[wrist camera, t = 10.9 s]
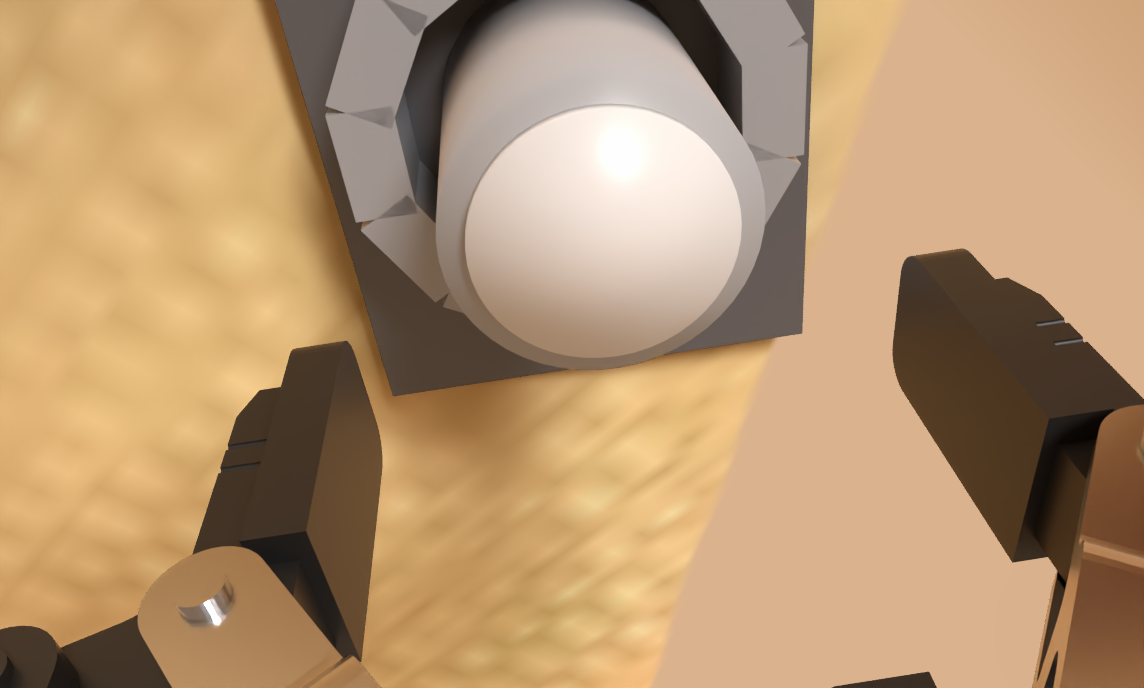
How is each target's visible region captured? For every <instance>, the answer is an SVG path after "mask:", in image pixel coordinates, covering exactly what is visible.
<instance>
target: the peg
mask: <svg viewBox="0 0 1144 688" xmlns="http://www.w3.org/2000/svg"><path fill="white" fill-rule="evenodd" d="M765 213H766V210H765V195H764V189H763V184H762V180H761V175H760V172H759V169H758V167H757V164H756V161H755V159H754V156H753V154H752V152H751V150H750V149H749V147H748V145H747V143H746V142H745V140H744V138H743V137H742V135H741V134H740V132H739V131H738V129H737V128H736V126H735V125H734V123H733V122H732V120H731V119H730V117H729V116H728V114H727V112H726V111H725V109H724V108H723V106H722V105H721V103H720V102H719V100H718V99H717V97H716V96H715V94H714V93H713V91H712V90H711V88H710V87H709V85H708V84H707V82H706V81H705V79H704V78H703V76H702V75H701V73H700V72H699V70H698V69H697V67H696V66H695V64H694V63H693V61H692V60H691V58H690V57H689V55H688V54H687V52H686V51H685V49H684V48H683V46H682V45H681V43H680V42H679V40H678V39H677V37H676V36H675V34H674V33H673V31H672V30H671V28H670V27H669V25H668V24H667V22H666V21H665V20H664V18H663V17H662V16H661V14H660V13H659V12H658V11H657V9H656V8H655V7H654V6H653V5H652V4H650V3H649V2H648V1H647V0H487V1H486V2H485V3H484V4H483V5H482V6H481V7H480V8H479V9H478V10H477V11H475V13H474V14H473V15H472V17H471V18H470V19H469V20H468V22H467V23H466V24H465V25H464V27H463V29H462V31H461V32H460V34H459V36H458V37H457V39H456V41H455V44H454V46H453V48H452V51H451V53H450V56H449V60H448V63H447V67H446V71H445V79H444V87H443V105H442V122H441V140H440V157H439V175H438V192H437V210H436V246H437V253H438V259H439V264H440V267H441V270H442V273H443V276H444V279H445V282H446V284H447V286H448V288H449V290H450V292H451V294H452V296H453V298H454V299H455V301H456V302H457V304H458V305H459V307H460V308H461V310H462V311H463V313H464V314H465V315H466V316H467V317H468V318H469V319H470V320H471V322H472V323H473V324H474V325H475V326H476V327H477V328H478V329H479V330H481V331H482V332H483V333H484V334H485V335H487V336H488V337H489V338H490V339H492V340H493V341H495V342H496V343H498V344H499V345H501V346H502V347H504V348H505V349H507V350H509V351H511V352H513V353H515V354H517V355H519V356H521V357H524V358H527V359H530V360H532V361H535V362H538V363H541V364H545V365H550V366H554V367H559V368H567V369H576V370H602V369H612V368H619V367H624V366H629V365H634V364H638V363H641V362H644V361H647V360H650V359H654V358H656V357H659V356H661V355H663V354H665V353H668V352H670V351H672V350H674V349H676V348H678V347H679V346H681V345H683V344H685V343H686V342H688V341H690V340H691V339H693V338H694V337H695V336H697V335H698V334H700V333H701V332H702V331H704V330H705V329H706V328H708V327H709V326H710V325H711V324H712V323H713V322H714V321H715V320H716V319H717V318H719V317H720V316H721V315H722V313H723V312H724V311H725V310H726V309H727V308H728V307H729V305H730V304H731V303H732V302H733V301H734V299H735V298H736V297H737V295H738V294H739V292H740V291H741V289H742V288H743V286H744V285H745V283H746V281H747V279H748V277H749V275H750V273H751V271H752V269H753V267H754V265H755V262H756V259H757V256H758V254H759V251H760V247H761V243H762V238H763V234H764V226H765Z"/></svg>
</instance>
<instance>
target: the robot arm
mask: <svg viewBox="0 0 1144 688" xmlns="http://www.w3.org/2000/svg"><path fill="white" fill-rule="evenodd" d="M893 362H894V368H895V373H896V376H897V379H898V382H899V385H900V387H901V389H902V391H903V392H904V394H905V395H906V397H907V399H908V400H909V402H910V403H911V405H912V406H913V408H914V409H915V411H916V413H917V414H918V416H919V417H920V419H921V420H922V422H923V423H924V425H925V427H926V428H927V430H928V431H929V433H930V434H931V436H932V438H933V439H934V441H935V442H936V444H937V445H938V447H939V448H940V450H941V451H942V453H943V455H944V456H945V458H946V459H947V461H948V462H949V464H950V466H951V467H952V469H953V470H954V472H955V473H956V475H957V477H958V478H959V480H960V481H961V483H962V484H963V486H964V487H965V489H966V491H967V492H968V494H969V495H970V497H971V498H972V500H973V502H974V503H975V505H976V506H977V508H978V509H979V511H980V513H981V514H982V516H983V517H984V519H985V520H986V522H987V523H988V525H989V527H990V528H991V530H992V531H993V533H994V534H995V536H996V537H997V539H998V541H999V542H1000V544H1001V545H1002V547H1003V548H1004V550H1005V552H1006V553H1007V555H1008V556H1009V558H1010V559H1011V561H1012V562H1018V561H1025V560H1031V559H1038V558H1044V557H1048V558H1049V559H1050V560H1051V562H1052V563H1053V565H1054V566H1055V567H1056V569H1057V572H1056V575H1055V579H1054V582H1053V585H1052V590H1051V595H1050V599H1049V605H1048V610H1047V615H1046V620H1045V625H1044V630H1043V635H1042V640H1041V645H1040V650H1039V655H1038V660H1037V666H1036V670H1035V675H1034V681H1033V686H1032V688H1144V399H1143V398H1142V397H1141V396H1140V395H1139V394H1138V393H1137V392H1136V391H1135V390H1134V389H1133V388H1132V387H1131V386H1130V385H1129V384H1128V383H1127V382H1126V381H1125V380H1124V379H1123V378H1122V377H1121V376H1120V375H1119V374H1118V373H1117V371H1115V369H1113V367H1112V366H1110V364H1108V362H1107V361H1106V360H1105V359H1104V358H1103V357H1102V356H1101V355H1100V354H1099V353H1098V352H1097V351H1096V350H1095V349H1094V348H1093V347H1092V346H1091V345H1090V344H1089V343H1088V342H1085V343H1084V342H1083V337H1082V336H1081V335H1080V334H1079V333H1078V332H1077V331H1076V330H1075V329H1074V328H1073V327H1072V326H1071V325H1070V324H1069V323H1065V322H1064V318H1063V317H1062V316H1061V314H1059V312H1058V311H1057V310H1055V308H1054V307H1053V306H1052V305H1051V304H1050V303H1049V302H1048V301H1047V300H1046V299H1045V298H1044V297H1043V296H1042V295H1040V294H1038V293H1036V292H1034V291H1032V290H1030V289H1028V288H1026V287H1024V286H1023V285H1020V284H1018V283H1017V282H1015V281H1013V280H1011V279H1009V278H1002V279H994V278H993V277H992V276H991V275H990V274H989V273H988V271H987V270H986V269H985V268H984V267H983V266H982V265H981V264H980V263H979V262H978V261H977V260H976V258H974V256H973V255H972V254H971V253H969V251H967V250H965V249H956V250H949V251H943V252H936V253H929V254H923V255H916V256H910V257H908V258H907V259H906V260H905V261H904V264H903V266H902V270H901V278H900V287H899V295H898V304H897V313H896V322H895V330H894V339H893ZM220 468H221V473H219V474H218V477H217V480H216V483H215V486H214V489H213V492H212V495H211V498H210V501H209V505H208V508H207V511H206V514H205V517H204V520H203V523H202V526H201V529H200V533H199V536H198V539H197V542H196V545H195V548H194V551H193V554H192V555H191V556H189V557H187V558H185V559H183V560H182V561H180V562H178V563H177V564H175V565H174V566H172V567H171V568H170V569H168V570H167V571H166V572H165V573H164V574H162V575H161V576H160V577H159V578H158V579H157V580H156V581H155V582H154V584H153V585H152V586H151V587H150V589H149V590H148V592H147V593H146V595H145V597H144V598H143V600H142V602H141V605H140V608H139V612H138V615H136V616H135V617H133V618H131V619H129V620H126V621H124V622H122V623H120V624H118V625H115V626H113V627H110V628H108V629H105V630H103V631H101V632H98V633H96V634H93V635H91V636H88V637H86V638H84V639H81V640H79V641H76V642H74V643H71V644H69V645H66V646H64V647H62V648H60V647H59V646H58V644H57V643H56V642H55V640H54V639H53V637H52V636H51V635H49V634H48V633H47V632H46V631H44V630H42V629H40V628H36V627H32V626H16V627H9V628H5V629H1V630H0V688H381V687H380V685H379V684H378V683H377V682H376V681H375V679H374V678H373V677H372V676H371V675H370V673H369V672H368V671H367V670H366V669H365V667H364V666H363V665H362V664H361V663H360V662H361V659H362V650H363V641H364V631H365V622H366V613H367V604H368V595H369V586H370V576H371V567H372V558H373V549H374V540H375V530H376V521H377V512H378V503H379V494H380V484H381V475H382V447H381V440H380V434H379V430H378V426H377V422H376V419H375V416H374V413H373V410H372V407H371V404H370V401H369V397H368V394H367V391H366V388H365V385H364V382H363V379H362V376H361V373H360V370H359V366H358V363H357V360H356V357H355V354H354V351H353V349H352V347H351V345H350V344H349V343H348V342H347V341H342V342H336V343H329V344H323V345H316V346H309V347H303V348H296V349H293V350H292V351H291V353H290V356H289V360H288V363H287V367H286V371H285V374H284V378H283V382H282V385H281V387H278V388H272V389H265V390H260V391H259V392H258V393H257V394H256V395H255V396H254V397H253V399H252V400H251V401H250V402H249V403H248V404H247V406H246V407H245V408H244V409H243V410H242V411H241V413H240V414H239V415H238V416H237V418H236V421H235V424H234V427H233V430H232V433H231V436H230V439H229V442H228V450H226V452H225V455H224V458H223V461H222V464H221V467H220ZM833 688H937V687H936V685H935V683H934V681H933V679H932V677H931V675H930V673H929V672H924V673H917V674H911V675H904V676H898V677H892V678H886V679H879V680H873V681H866V682H860V683H854V684H848V685H842V686H835V687H833Z"/></svg>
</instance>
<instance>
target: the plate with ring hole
mask: <svg viewBox="0 0 1144 688" xmlns="http://www.w3.org/2000/svg"><path fill="white" fill-rule="evenodd" d="M486 1H487V0H275V3H276V6H277V10H278V13H279V16H280V20H281V23H282V26H283V30H284V33H285V37H286V40H287V43H288V47H289V50H290V53H291V57H292V60H293V63H294V67H295V70H296V73H297V77H298V80H299V83H300V87H301V90H302V93H303V97H304V100H305V103H306V107H307V110H308V113H309V117H310V120H311V123H312V127H313V130H314V133H315V137H316V140H317V143H318V147H319V150H320V154H321V157H322V160H323V164H324V167H325V170H326V174H327V177H328V180H329V184H330V187H331V190H332V194H333V197H334V200H335V204H336V207H337V210H338V214H339V217H340V220H341V224H342V227H343V230H344V234H345V237H346V240H347V244H348V247H349V250H350V254H351V257H352V261H353V264H354V267H355V271H356V274H357V277H358V281H359V284H360V287H361V291H362V294H363V297H364V301H365V304H366V307H367V311H368V314H369V317H370V321H371V324H372V327H373V331H374V334H375V337H376V341H377V344H378V347H379V351H380V354H381V357H382V361H383V364H384V367H385V371H386V374H387V378H388V381H389V384H390V388H391V391H392V394H393V396H398V395H404V394H411V393H417V392H424V391H430V390H437V389H443V388H450V387H456V386H463V385H469V384H476V383H482V382H489V381H495V380H502V379H508V378H515V377H521V376H528V375H534V374H541V373H547V372H554V371H561V370H567V368H559V367H554V366H550V365H545V364H541V363H538V362H535V361H532V360H530V359H527V358H524V357H521V356H519V355H517V354H515V353H513V352H511V351H509V350H507V349H505V348H504V347H502V346H501V345H499V344H498V343H496V342H495V341H493V340H492V339H490V338H489V337H488V336H487V335H485V334H484V333H483V332H482V331H481V330H479V329H478V328H477V327H476V326H475V325H474V324H473V323H472V322H471V320H470V319H469V318H468V317H467V316H466V315H465V314H464V313H463V311H462V310H461V308H460V307H459V305H458V304H457V302H456V301H455V299H454V298H453V296H452V294H451V292H450V290H449V288H448V286H447V284H446V282H445V279H444V276H443V273H442V270H441V267H440V264H439V259H438V253H437V246H436V210H437V192H438V175H439V157H440V140H441V122H442V105H443V87H444V79H445V71H446V67H447V63H448V60H449V56H450V53H451V51H452V48H453V46H454V44H455V41H456V39H457V37H458V36H459V34H460V32H461V31H462V29H463V27H464V25H465V24H466V23H467V22H468V20H469V19H470V18H471V17H472V15H473V14H474V13H475V11H477V10H478V9H479V8H480V7H481V6H482V5H483V4H484V3H485V2H486ZM647 1H648V2H649V3H650V4H652V5H653V6H654V7H655V8H656V9H657V11H658V12H659V13H660V14H661V16H662V17H663V18H664V20H665V21H666V22H667V24H668V25H669V27H670V28H671V30H672V31H673V33H674V34H675V36H676V37H677V39H678V40H679V42H680V43H681V45H682V46H683V48H684V49H685V51H686V52H687V54H688V55H689V57H690V58H691V60H692V61H693V63H694V64H695V66H696V67H697V69H698V70H699V72H700V73H701V75H702V76H703V78H704V79H705V81H706V82H707V84H708V85H709V87H710V88H711V90H712V91H713V93H714V94H715V96H716V97H717V99H718V100H719V102H720V103H721V105H722V106H723V108H724V109H725V111H726V112H727V114H728V116H729V117H730V119H731V120H732V122H733V123H734V125H735V126H736V128H737V129H738V131H739V132H740V134H741V135H742V137H743V138H744V140H745V142H746V143H747V145H748V147H749V149H750V150H751V152H752V154H753V156H754V159H755V161H756V164H757V167H758V169H759V172H760V175H761V180H762V184H763V189H764V195H765V210H766V213H765V226H764V234H763V238H762V243H761V247H760V251H759V254H758V256H757V259H756V262H755V265H754V267H753V269H752V271H751V273H750V275H749V277H748V279H747V281H746V283H745V285H744V286H743V288H742V289H741V291H740V292H739V294H738V295H737V297H736V298H735V299H734V301H733V302H732V303H731V304H730V305H729V307H728V308H727V309H726V310H725V311H724V312H723V313H722V315H721V316H720V317H719V318H717V319H716V320H715V321H714V322H713V323H712V324H711V325H710V326H709V327H708V328H706V329H705V330H704V331H702V332H701V333H700V334H698V335H697V336H695V337H694V338H693V339H691V340H690V341H688V342H686V343H685V344H683V345H681V346H679V347H678V348H676V349H674V350H672V351H670V352H668V353H665V354H671V353H678V352H684V351H691V350H697V349H704V348H710V347H717V346H723V345H730V344H736V343H743V342H749V341H756V340H762V339H769V338H775V337H782V336H788V335H795V334H801V333H802V322H803V294H804V268H805V240H806V213H807V185H808V158H809V130H810V102H811V75H812V47H813V20H814V0H647ZM665 354H663V355H665Z"/></svg>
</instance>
